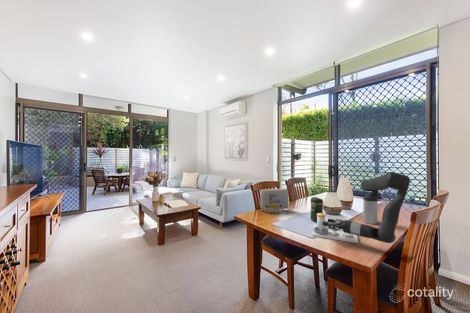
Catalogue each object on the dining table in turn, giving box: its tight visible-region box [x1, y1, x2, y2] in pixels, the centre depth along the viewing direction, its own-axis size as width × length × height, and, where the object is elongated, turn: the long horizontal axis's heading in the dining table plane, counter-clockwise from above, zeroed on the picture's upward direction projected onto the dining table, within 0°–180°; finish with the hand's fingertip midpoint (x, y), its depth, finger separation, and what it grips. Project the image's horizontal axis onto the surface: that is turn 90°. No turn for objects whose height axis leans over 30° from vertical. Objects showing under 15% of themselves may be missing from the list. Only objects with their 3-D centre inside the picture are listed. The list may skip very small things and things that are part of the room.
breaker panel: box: [311, 223, 359, 244], centre depth 136 cm, size 20×26×6 cm
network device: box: [260, 188, 289, 213], centre depth 192 cm, size 26×9×20 cm, turn 94°
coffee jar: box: [310, 196, 324, 223], centre depth 162 cm, size 10×8×19 cm
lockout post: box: [316, 212, 327, 231], centre depth 135 cm, size 5×5×12 cm
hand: (325, 221), depth 133 cm, fingers open, 8 cm apart
